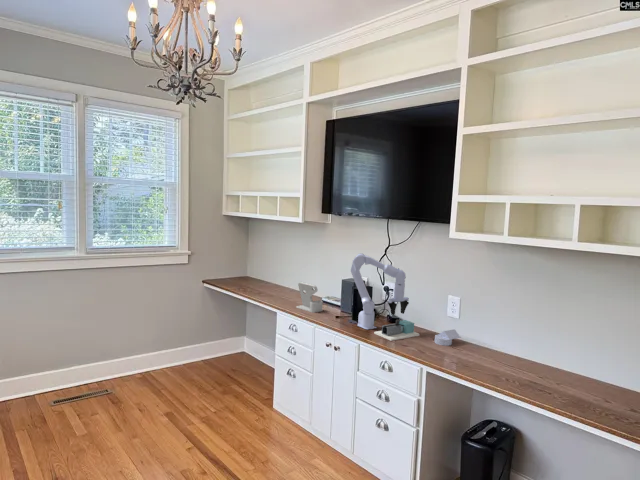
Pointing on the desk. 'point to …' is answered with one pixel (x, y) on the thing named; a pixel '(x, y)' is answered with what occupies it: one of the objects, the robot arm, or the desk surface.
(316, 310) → the phone holder
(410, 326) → the socket
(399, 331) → the grey rail guide
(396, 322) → the bar
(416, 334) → the base board
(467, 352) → the desk surface
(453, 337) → the wedge on round base
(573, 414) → the desk surface
